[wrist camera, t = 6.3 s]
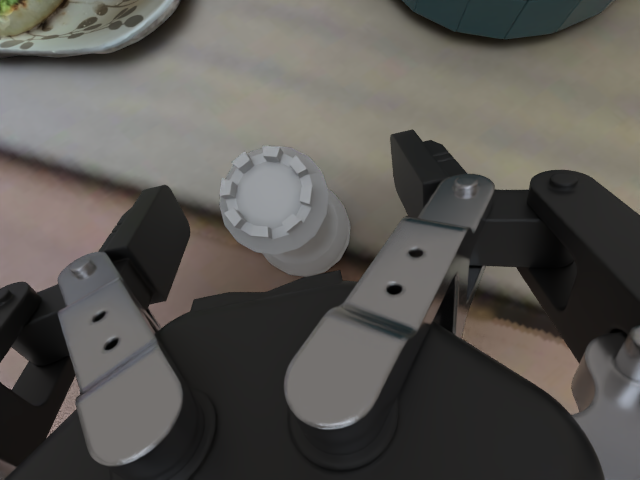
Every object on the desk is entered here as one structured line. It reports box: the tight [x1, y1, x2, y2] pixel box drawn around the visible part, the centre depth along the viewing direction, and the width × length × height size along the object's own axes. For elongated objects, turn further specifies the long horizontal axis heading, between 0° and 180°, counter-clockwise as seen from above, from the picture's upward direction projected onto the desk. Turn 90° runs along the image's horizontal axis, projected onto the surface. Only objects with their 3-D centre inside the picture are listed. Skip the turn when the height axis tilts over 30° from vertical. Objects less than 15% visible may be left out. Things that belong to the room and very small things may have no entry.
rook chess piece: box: [219, 146, 351, 277], centre depth 13 cm, size 4×4×8 cm
